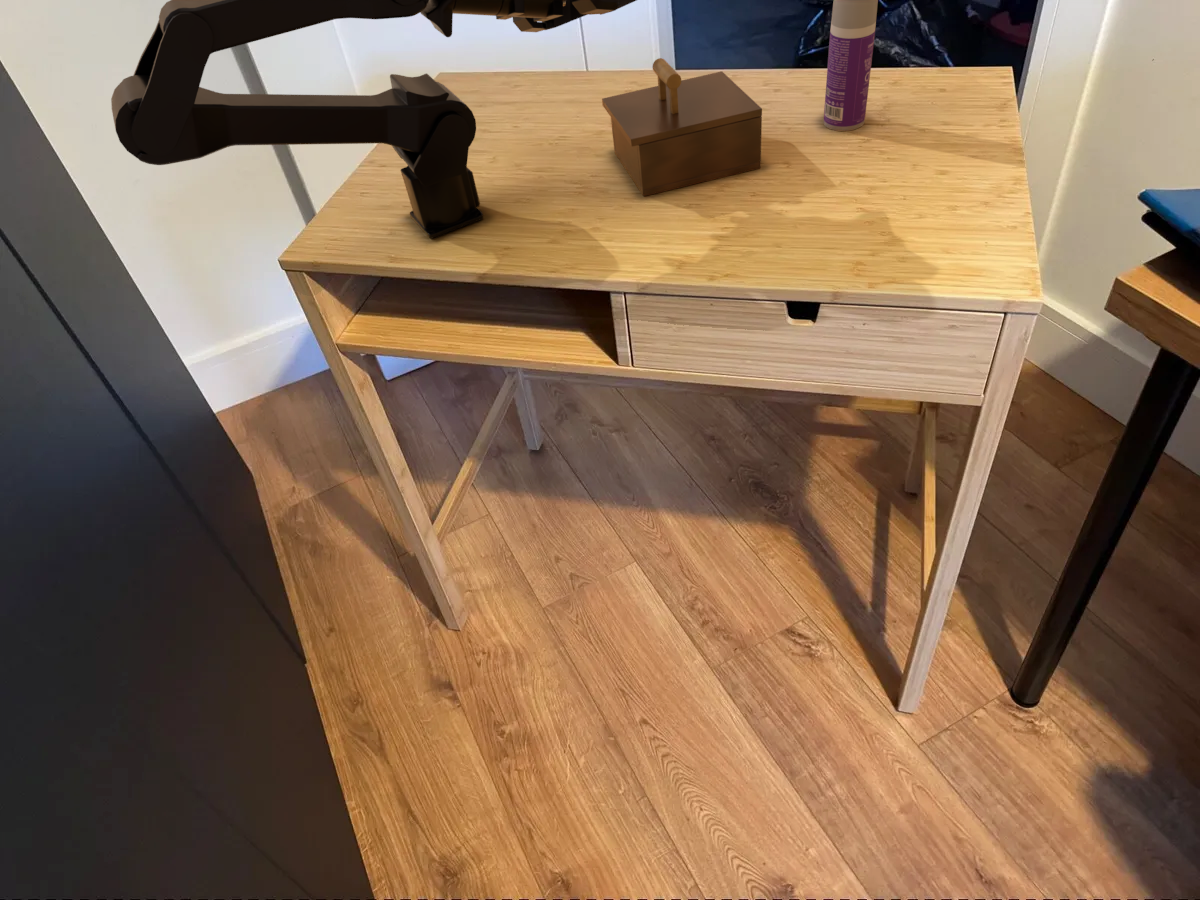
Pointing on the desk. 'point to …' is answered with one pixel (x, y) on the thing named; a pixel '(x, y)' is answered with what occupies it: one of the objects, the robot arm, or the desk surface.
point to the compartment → (691, 156)
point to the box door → (679, 106)
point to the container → (849, 63)
